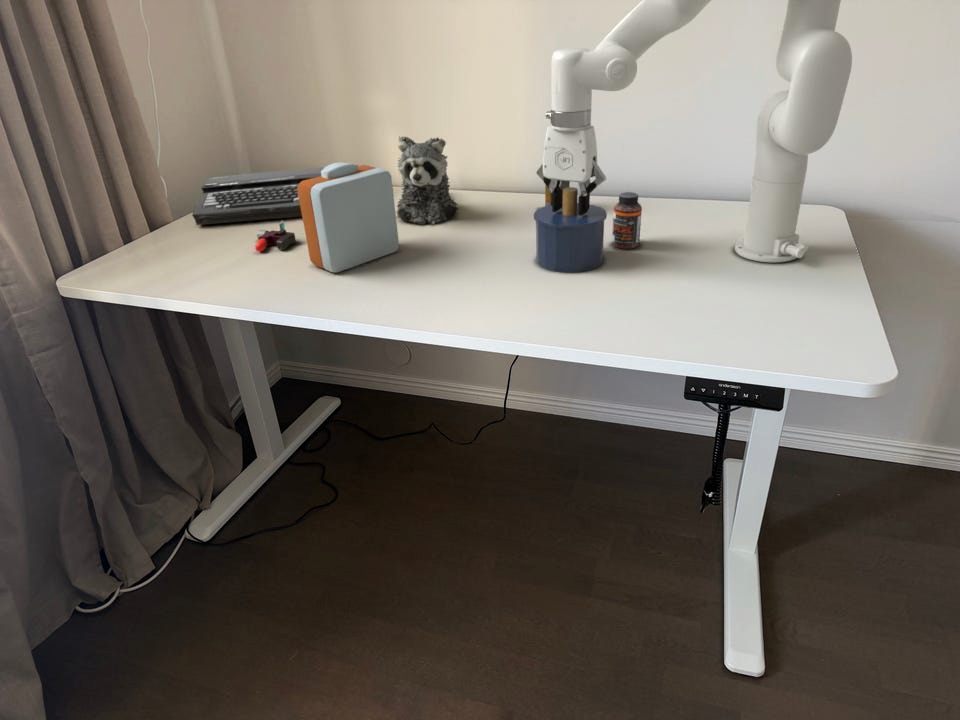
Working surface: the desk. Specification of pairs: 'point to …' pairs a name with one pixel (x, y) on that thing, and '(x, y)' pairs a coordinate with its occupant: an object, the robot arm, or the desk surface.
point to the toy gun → (275, 238)
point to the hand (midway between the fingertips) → (570, 211)
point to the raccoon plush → (424, 182)
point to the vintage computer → (252, 196)
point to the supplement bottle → (626, 221)
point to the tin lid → (569, 213)
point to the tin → (569, 247)
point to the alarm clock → (348, 215)
